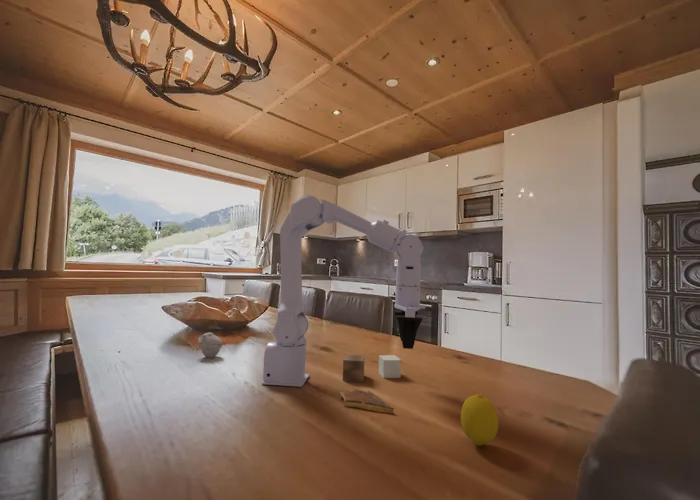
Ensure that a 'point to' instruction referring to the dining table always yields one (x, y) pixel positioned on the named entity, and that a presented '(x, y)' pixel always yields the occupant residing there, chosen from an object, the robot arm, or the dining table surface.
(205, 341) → the round grey stone
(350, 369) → the walnut block
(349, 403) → the shard
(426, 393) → the dining table surface
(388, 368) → the white cube
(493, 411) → the lemon
